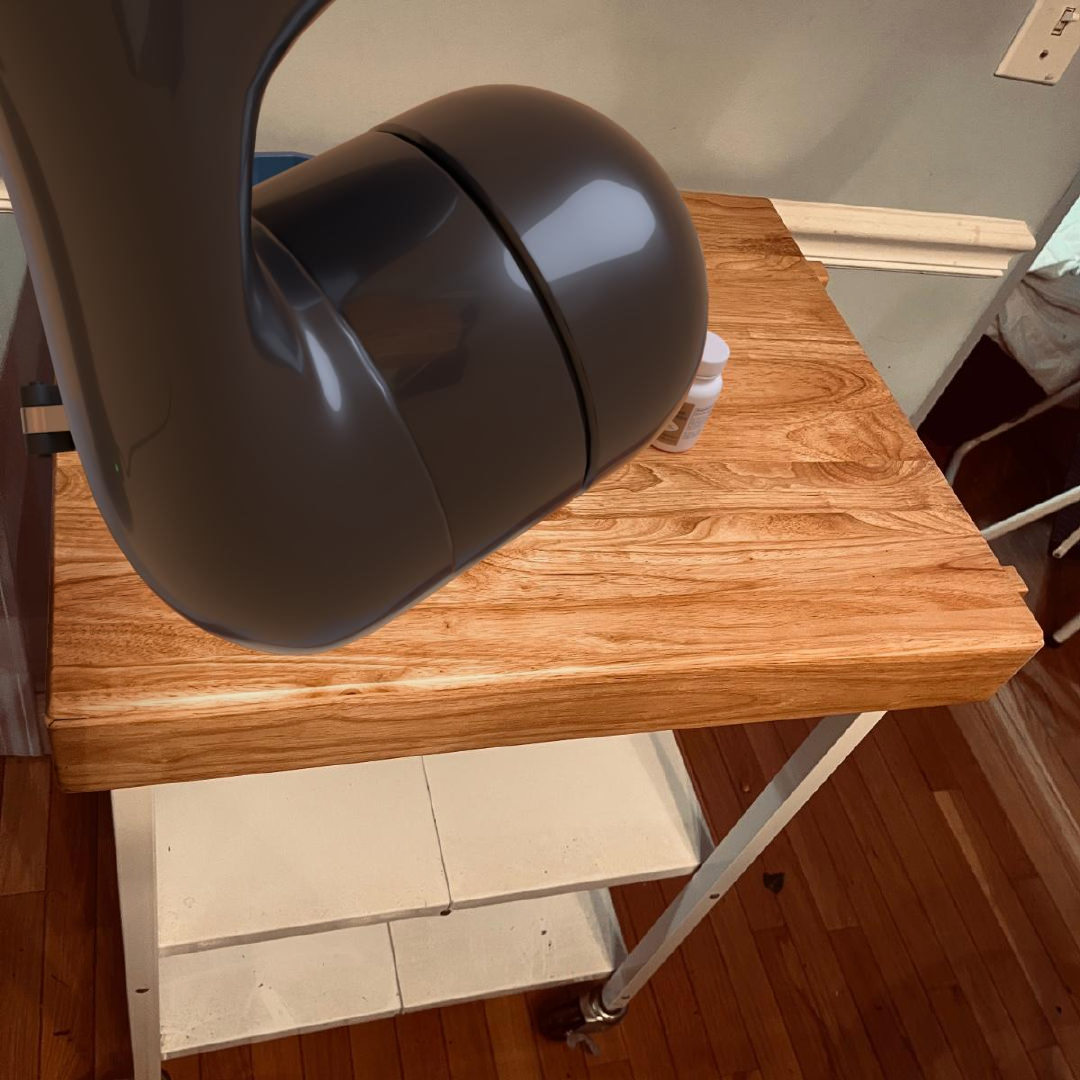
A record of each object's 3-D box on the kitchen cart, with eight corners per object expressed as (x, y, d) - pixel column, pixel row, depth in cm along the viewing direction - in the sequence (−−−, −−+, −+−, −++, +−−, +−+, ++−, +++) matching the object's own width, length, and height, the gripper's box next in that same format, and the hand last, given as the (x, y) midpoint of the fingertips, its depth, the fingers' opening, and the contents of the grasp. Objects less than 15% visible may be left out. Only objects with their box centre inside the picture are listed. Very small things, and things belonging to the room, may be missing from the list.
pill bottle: (623, 421, 73) (658, 332, 68) (666, 402, 76) (704, 316, 70) (665, 462, 72) (705, 375, 66) (708, 442, 74) (751, 356, 69)
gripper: (444, 275, 35) (323, 327, 51) (-22, 280, 30) (4, 337, 45) (461, 501, 36) (338, 484, 52) (12, 547, 31) (26, 513, 46)
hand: (182, 416), depth 49 cm, fingers closed
